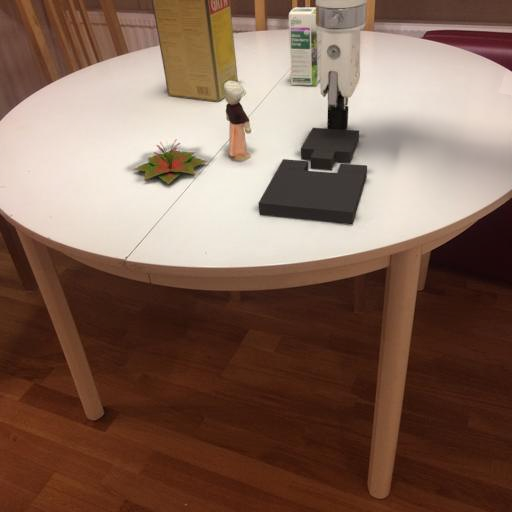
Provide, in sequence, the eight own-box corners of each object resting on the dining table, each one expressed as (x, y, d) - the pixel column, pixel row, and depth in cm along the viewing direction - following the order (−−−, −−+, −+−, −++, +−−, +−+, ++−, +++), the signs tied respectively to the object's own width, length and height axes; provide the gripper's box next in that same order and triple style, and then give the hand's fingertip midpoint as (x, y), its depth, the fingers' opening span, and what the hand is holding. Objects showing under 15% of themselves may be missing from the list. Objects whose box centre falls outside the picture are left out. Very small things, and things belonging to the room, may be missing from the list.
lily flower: (120, 174, 86) (113, 149, 83) (173, 146, 93) (169, 122, 90) (168, 195, 80) (162, 168, 77) (222, 163, 86) (219, 137, 84)
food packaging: (241, 86, 114) (228, -44, 99) (219, 102, 108) (201, -35, 93) (190, 81, 120) (170, -43, 104) (166, 96, 113) (141, -34, 98)
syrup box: (290, 85, 112) (287, 13, 104) (297, 76, 117) (295, 5, 108) (316, 86, 111) (315, 12, 102) (322, 76, 115) (322, 5, 106)
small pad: (358, 141, 89) (359, 130, 88) (346, 172, 81) (346, 160, 80) (312, 138, 91) (312, 127, 90) (296, 167, 83) (295, 156, 82)
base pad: (366, 177, 79) (367, 165, 78) (352, 224, 69) (353, 212, 68) (283, 170, 83) (283, 159, 82) (259, 215, 73) (258, 202, 72)
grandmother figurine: (217, 153, 89) (207, 79, 82) (235, 145, 91) (226, 73, 83) (245, 168, 84) (237, 90, 77) (263, 159, 86) (257, 83, 79)
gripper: (357, 30, 72) (351, 151, 84) (372, 3, 83) (366, 113, 95) (304, 29, 75) (305, 147, 86) (326, 3, 86) (325, 111, 97)
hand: (337, 129), depth 90 cm, fingers closed
